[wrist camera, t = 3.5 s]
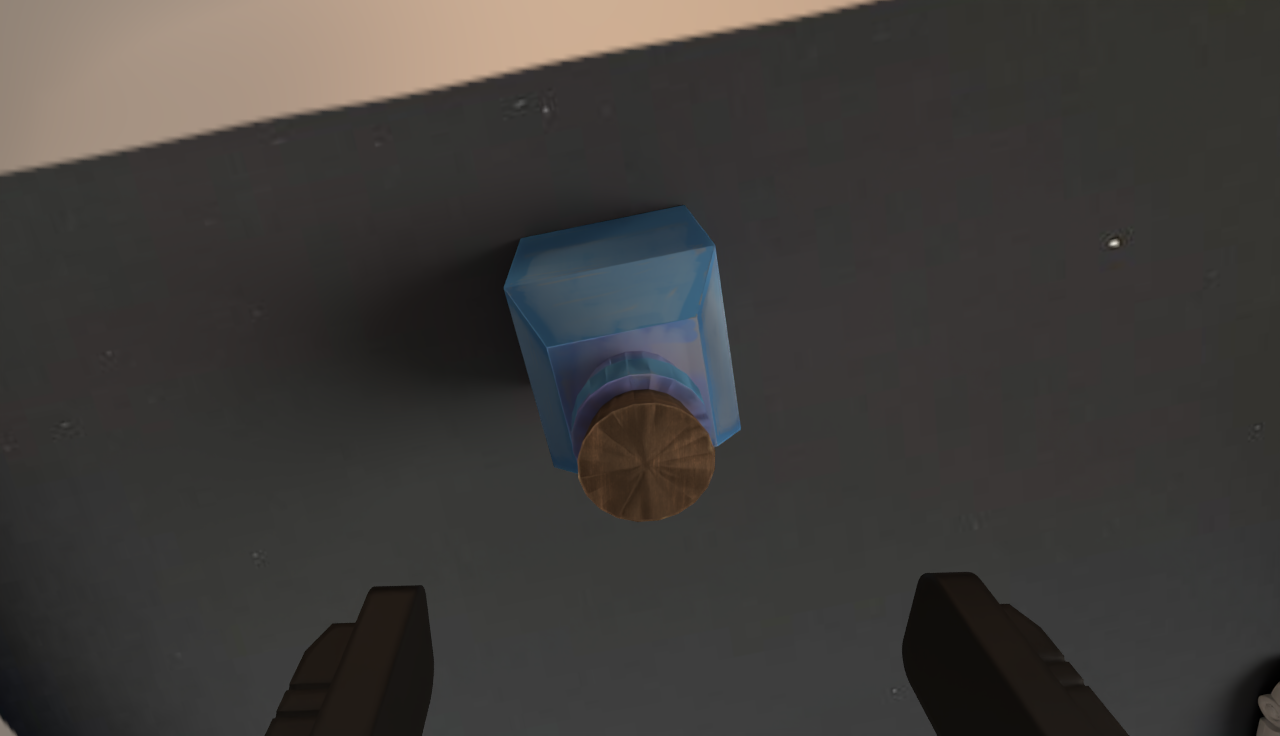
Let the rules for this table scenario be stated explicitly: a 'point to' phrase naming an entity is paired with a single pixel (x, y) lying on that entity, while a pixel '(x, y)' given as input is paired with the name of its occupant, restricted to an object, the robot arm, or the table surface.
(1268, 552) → the table surface
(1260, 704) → the toy car
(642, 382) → the perfume bottle
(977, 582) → the robot arm
